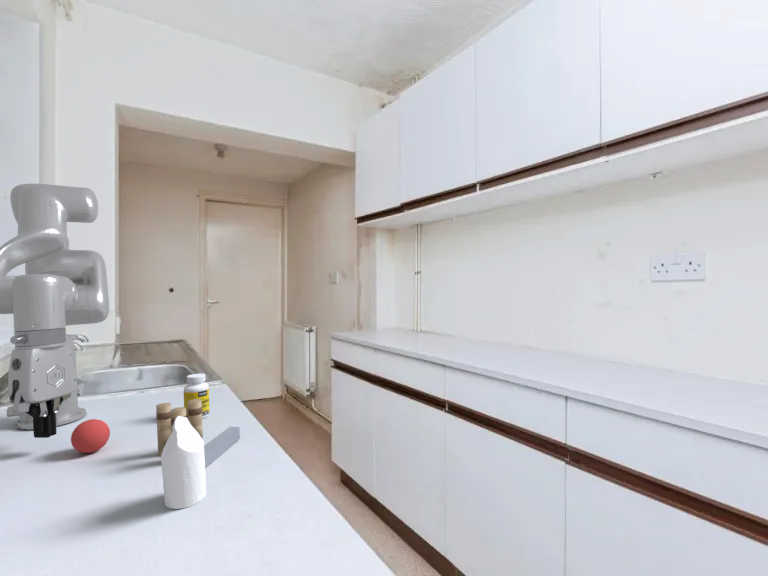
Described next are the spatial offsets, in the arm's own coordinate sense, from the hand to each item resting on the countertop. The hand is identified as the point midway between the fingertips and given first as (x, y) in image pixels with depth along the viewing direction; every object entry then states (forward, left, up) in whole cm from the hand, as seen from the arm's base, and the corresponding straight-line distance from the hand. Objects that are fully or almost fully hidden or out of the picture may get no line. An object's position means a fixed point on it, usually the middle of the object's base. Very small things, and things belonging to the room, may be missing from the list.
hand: (45, 435), depth 78 cm
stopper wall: (+32, -11, -3) cm, 34 cm away
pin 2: (+28, -7, -3) cm, 29 cm away
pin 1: (+26, -11, -3) cm, 29 cm away
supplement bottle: (+24, +13, -3) cm, 28 cm away
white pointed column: (+30, -26, -3) cm, 40 cm away
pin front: (+23, -7, -3) cm, 24 cm away
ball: (+9, -2, 0) cm, 9 cm away
